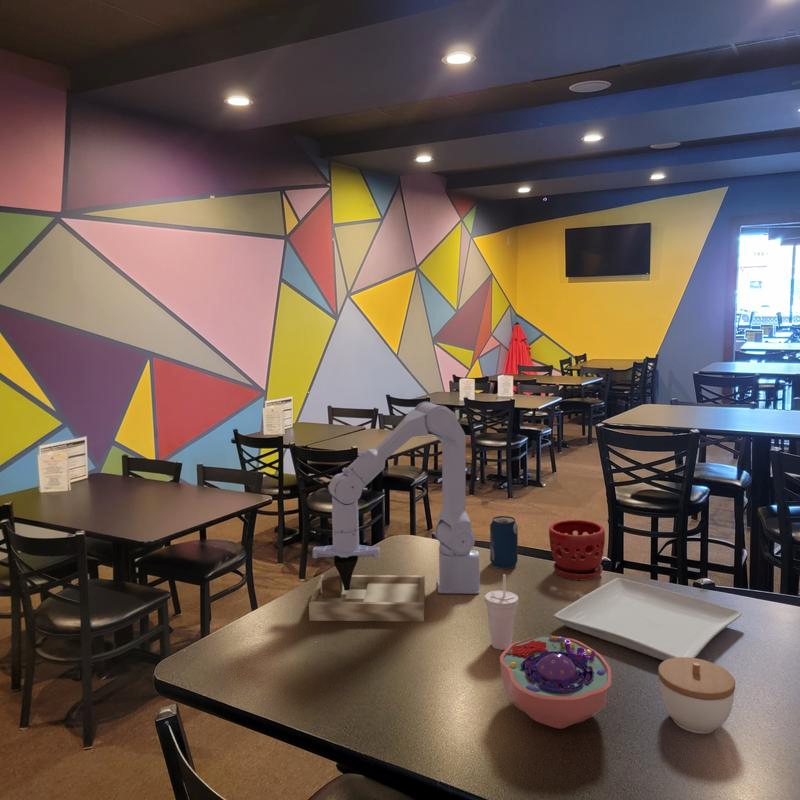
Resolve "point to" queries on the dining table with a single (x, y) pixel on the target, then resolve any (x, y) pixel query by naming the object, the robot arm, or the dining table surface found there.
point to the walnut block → (332, 585)
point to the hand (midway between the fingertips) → (347, 588)
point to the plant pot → (577, 548)
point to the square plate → (648, 618)
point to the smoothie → (501, 616)
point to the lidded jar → (696, 693)
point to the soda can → (503, 542)
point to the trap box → (372, 600)
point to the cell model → (555, 679)
